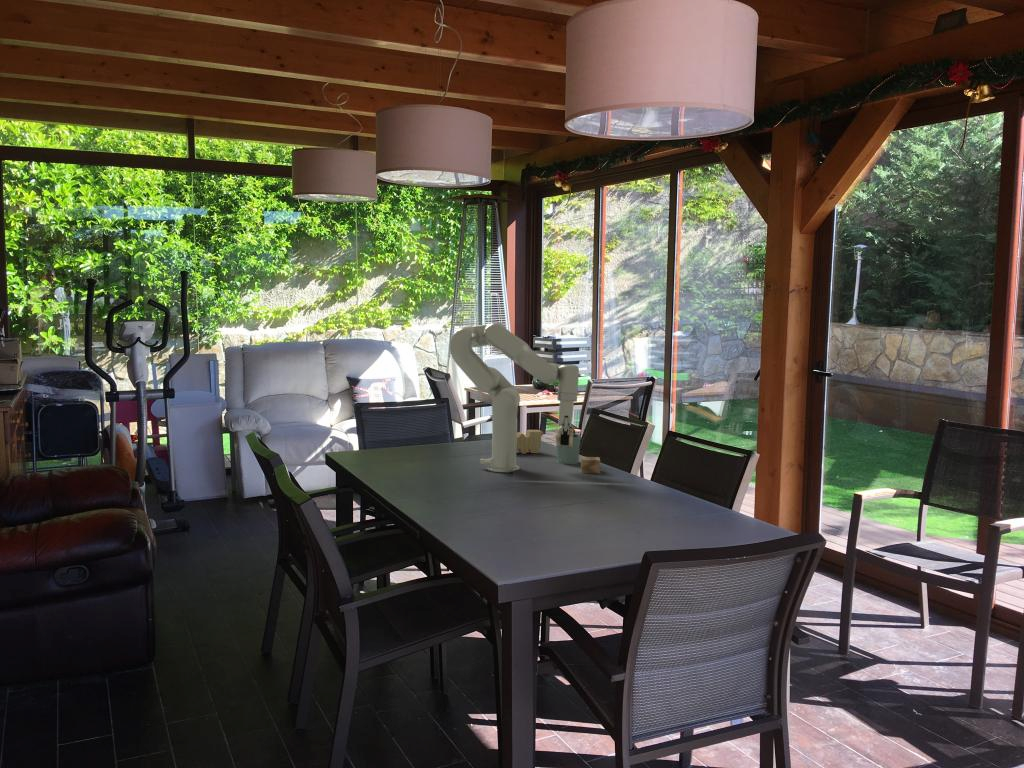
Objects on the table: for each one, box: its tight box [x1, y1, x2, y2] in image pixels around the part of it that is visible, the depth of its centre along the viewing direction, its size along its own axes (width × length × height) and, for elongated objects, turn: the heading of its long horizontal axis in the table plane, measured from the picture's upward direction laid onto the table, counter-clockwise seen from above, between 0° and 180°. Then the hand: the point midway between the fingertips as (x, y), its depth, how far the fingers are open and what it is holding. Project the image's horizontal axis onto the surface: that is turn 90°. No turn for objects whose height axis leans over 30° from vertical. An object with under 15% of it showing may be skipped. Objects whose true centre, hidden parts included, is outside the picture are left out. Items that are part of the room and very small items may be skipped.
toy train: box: [516, 429, 544, 455], centre depth 381 cm, size 6×17×10 cm, turn 105°
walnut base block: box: [580, 456, 601, 474], centre depth 337 cm, size 7×7×5 cm
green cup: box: [555, 433, 581, 465], centre depth 356 cm, size 10×10×12 cm
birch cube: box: [555, 427, 574, 446], centre depth 336 cm, size 6×6×6 cm
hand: (564, 443), depth 337 cm, fingers closed on birch cube, 6 cm apart
